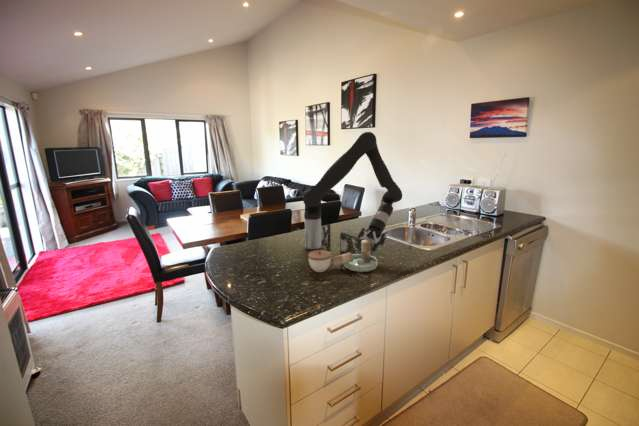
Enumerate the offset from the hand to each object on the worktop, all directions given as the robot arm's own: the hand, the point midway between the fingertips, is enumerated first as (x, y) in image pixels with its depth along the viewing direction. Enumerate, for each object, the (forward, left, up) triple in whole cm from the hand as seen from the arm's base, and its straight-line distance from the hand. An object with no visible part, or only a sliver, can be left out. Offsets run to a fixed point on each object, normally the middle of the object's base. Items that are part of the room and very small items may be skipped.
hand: (365, 249), depth 148 cm
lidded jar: (-23, -5, -7) cm, 25 cm away
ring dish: (-3, -2, -7) cm, 8 cm away
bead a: (0, +1, -6) cm, 6 cm away
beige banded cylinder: (-8, -5, -1) cm, 9 cm away
